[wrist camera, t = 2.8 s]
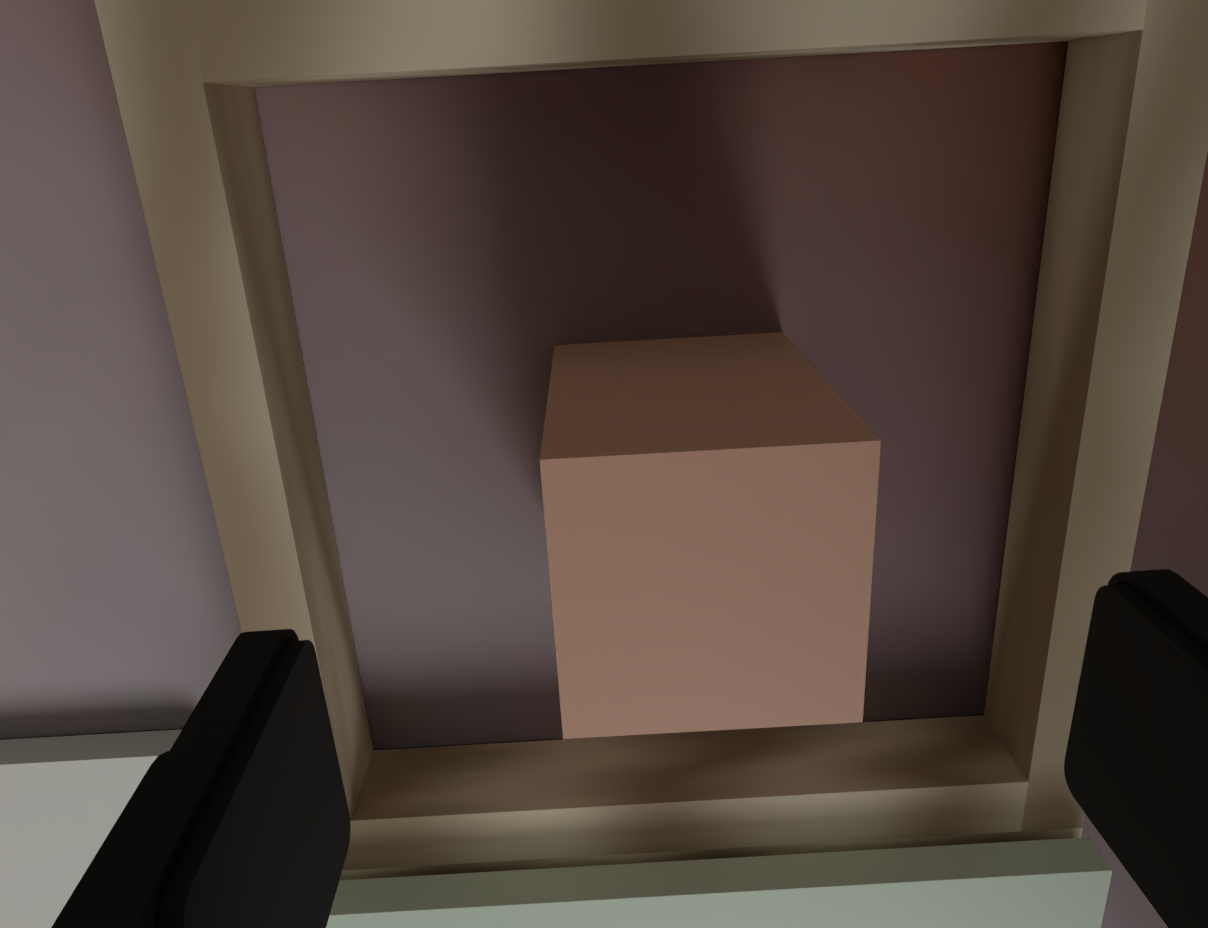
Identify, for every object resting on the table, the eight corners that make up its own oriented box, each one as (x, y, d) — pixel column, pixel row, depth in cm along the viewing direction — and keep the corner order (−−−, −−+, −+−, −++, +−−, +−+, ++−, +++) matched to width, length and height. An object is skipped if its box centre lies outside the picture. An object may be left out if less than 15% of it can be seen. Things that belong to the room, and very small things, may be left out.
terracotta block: (781, 332, 20) (880, 440, 13) (777, 536, 21) (862, 722, 15) (554, 345, 20) (539, 459, 13) (569, 548, 21) (563, 739, 15)
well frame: (1158, -51, 17) (1249, -77, 15) (963, 1221, 31) (993, 1310, 29) (158, 5, 17) (91, -12, 15) (420, 1252, 31) (407, 1344, 29)
